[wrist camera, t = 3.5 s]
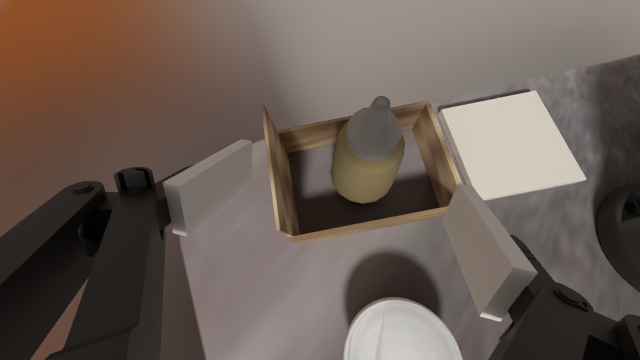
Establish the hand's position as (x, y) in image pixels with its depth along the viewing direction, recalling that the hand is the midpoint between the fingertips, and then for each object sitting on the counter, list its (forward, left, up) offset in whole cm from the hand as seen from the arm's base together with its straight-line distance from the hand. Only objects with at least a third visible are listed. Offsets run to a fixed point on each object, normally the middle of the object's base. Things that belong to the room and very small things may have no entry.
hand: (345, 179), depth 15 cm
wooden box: (+5, -4, -18) cm, 19 cm away
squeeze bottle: (+5, -4, -18) cm, 19 cm away
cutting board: (+6, -25, -18) cm, 31 cm away
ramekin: (-15, -3, -18) cm, 24 cm away
